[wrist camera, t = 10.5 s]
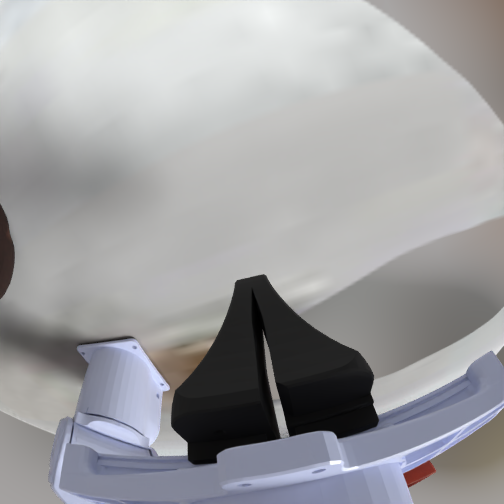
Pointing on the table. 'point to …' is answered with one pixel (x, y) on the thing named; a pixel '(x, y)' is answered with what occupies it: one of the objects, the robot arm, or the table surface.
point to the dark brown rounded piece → (5, 254)
